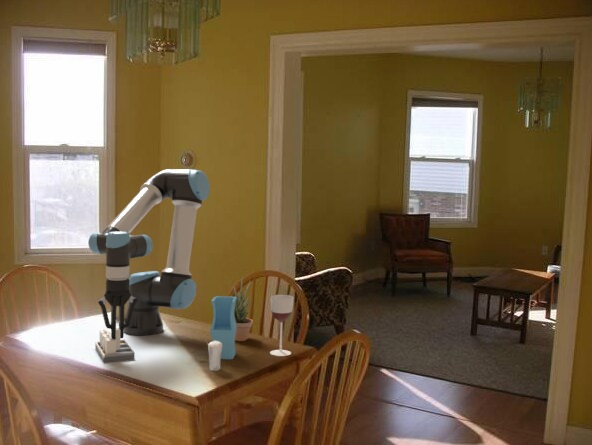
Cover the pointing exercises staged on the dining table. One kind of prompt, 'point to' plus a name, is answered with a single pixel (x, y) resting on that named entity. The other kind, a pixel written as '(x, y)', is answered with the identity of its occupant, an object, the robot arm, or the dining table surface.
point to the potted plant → (242, 315)
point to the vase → (224, 324)
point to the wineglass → (281, 316)
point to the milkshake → (214, 355)
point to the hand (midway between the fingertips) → (117, 347)
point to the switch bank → (121, 354)
